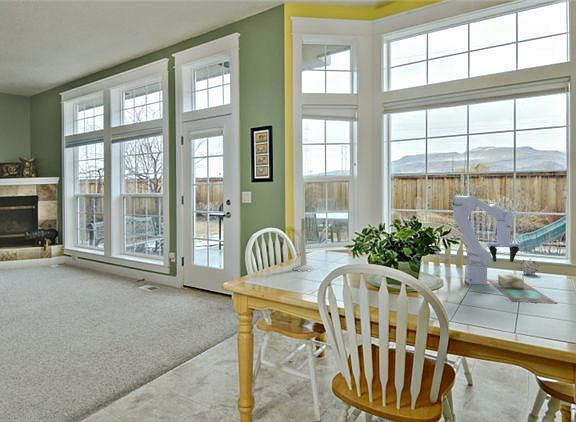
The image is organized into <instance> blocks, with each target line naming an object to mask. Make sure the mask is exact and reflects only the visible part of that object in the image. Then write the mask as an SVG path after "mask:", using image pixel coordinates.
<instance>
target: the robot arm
mask: <svg viewBox="0 0 576 422" xmlns="http://www.w3.org/2000/svg"><path fill="white" fill-rule="evenodd" d="M450 205H451V208H452V209H453V210H452V211H453V219H454V221H455V223H456V225H457V227H458V229H459V231H460V234H461V235H462V238H463V240H464V242H465V244H466V246H467V249H466V250H465V252H466V259H467V260H468V261H469V263H467V264H465V266H464V281H465V282H466V283H467V284H469V285H484V286H486V285H488V286H489V285H491V283H489V282H488V281H487V279H488V266H489V265H490V264H491V263H492V261H493V262H495V263H496V262H497V251H498V249H497V248H509V262H511V263H514V259H515V257H516V255H517V253H518V252H519V250H520V248H521V243H520V242H511V233H512V232H511V230H512V229H511V228H512V225H513V221H514V219H515V216H514V213H513V212H512V211H511V210H508V209H507V210H506V209H505V208H504V207H500V206H498V204H497V203H492V204H488V203H486V202H485V201H483V200H481V199H479V198H478V197H476V196H473V195H455V196H454V197H453V198H452V201H451V204H450ZM476 208H477V209H480V210H481V211H484V213H485V215H487V216H489V217H491V218H493V219H494V220H495V221H496V225H497V226H496V227H497V228H496V242H486V247H487V248H488V250H489V251H488V250H487V249H486V248H485V247H484V246H483V245H481V243H480V241H479V239H478V236H477V234H476V232H475V230H474V228H473V226H472V223H471V221H470V219H469V217H471V214H472V213H473V211H474V210H475V209H476Z"/></svg>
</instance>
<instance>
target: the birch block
mask: <svg viewBox="0 0 576 422" xmlns="http://www.w3.org/2000/svg"><path fill="white" fill-rule="evenodd" d="M497 280H498V283H499V284H501V285H502V286H504V287H515V288H524V283H525V278H523V277H521V276H519V275H517V274H499V273H498V275H497Z"/></svg>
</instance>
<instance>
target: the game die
mask: <svg viewBox="0 0 576 422" xmlns="http://www.w3.org/2000/svg"><path fill="white" fill-rule="evenodd" d="M522 261H523V262H520V267H518V269H519V270H521V271H522V273H523V274H527V276H529V275H532V274H534V275H536V272H539V269H538V267H540V265H539V264H537V263H536V260H532V259H531V258H529V259H527V260H524V259H522Z"/></svg>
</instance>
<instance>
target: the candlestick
mask: <svg viewBox="0 0 576 422" xmlns="http://www.w3.org/2000/svg"><path fill="white" fill-rule="evenodd" d="M300 221H301V227H300V228H301V229H300V230H299V231H300V234H301V246H300V247H301V248H300V250H301V251H300V263H299V264H297V265H295V266H293V267H292V270H293V269H295V270H300V271H307V272H309V271H308V270H313V269H316V267H315V266H313V265H312V264H309V263H308V262H307V249H306V248H307V245H306V236H305V235H306V231H307V230H306V223H305V222H306V219H305V218H301V220H300ZM295 270H294V271H295ZM300 271H299V272H300ZM313 271H314V270H313Z"/></svg>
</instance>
